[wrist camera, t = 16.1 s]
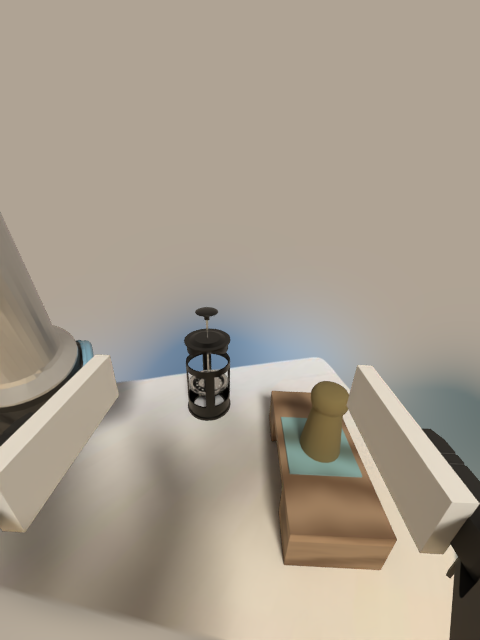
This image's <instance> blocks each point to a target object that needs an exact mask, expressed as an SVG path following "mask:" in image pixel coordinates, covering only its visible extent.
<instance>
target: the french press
mask: <svg viewBox="0 0 480 640" xmlns="http://www.w3.org/2000/svg"><path fill="white" fill-rule="evenodd" d="M195 313H196V314H197V315H199V316H203V317H204V319H205V320H206V329H200V330H196V331H193V332H191V333H189V334H188V335H187V336H186V337H185V340H184V342H185V345H186V346H187V350H188V353H189V354H190V355H189V356H188V357H187V359H186V370H187V383H188V397H189V403H188V409H189V411H190V413H191V414H192V415H193V416H194V417H195V418H197V419H200V420H206V421H208V420H215V419H218V418H220V417H222V416H224V415H225V414H226V413H227V412H228V410H229V408H230V399H229V396H230V357H229V356H228V354H227V353H226V352H227V350H228V344H229V343H230V336H229V335H228V334H227V333H225V332H223V331H221V330H217V329H208V320H209V316H213V315H216V314H217V313H218V311H217V310H216V309H214V308H210V307H204V308H200V309H198V310H196V312H195ZM202 354H203V371H200V372H199V371H195V370H193V369H191V368H190V367H189V366H188V363H189V361H190V360H191V359H193V358H194V357H196V356H199V355H202ZM211 354H217V355H220V356H223V357H224V358H226V359H227V360H228V364H227V365H226V366H225V367H224V368H222V369H220V370H218V371H216V370H211ZM227 371H228V378H227V376H226V375H225V374H224V373H226V372H227ZM188 372H189V373H190V374H191V375H193V376H192V377H191V378H190V380H189V377H188ZM227 385H228V387H227ZM189 387H190V390H189ZM216 395H220V396H222V397H223V399H224V402H223V403H221V404H219V405H217V406H215V396H216ZM199 396H204V397H206V407H201V406H198V405H196V404H194V402H195V400H196V399H197V398H198V397H199Z"/></svg>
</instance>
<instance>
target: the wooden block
mask: <svg viewBox="0 0 480 640" xmlns="http://www.w3.org/2000/svg"><path fill="white" fill-rule="evenodd" d="M311 408H312V403H311V393H306V392H282V391H272V394H271V404H270V413H269V421H270V431H271V441H277V448H278V457H279V465H280V473H281V481H282V493H281V499H280V506H279V520H280V530H281V540H282V550H283V560H284V565H296V566H314V567H333V568H352V569H371V570H381V568H382V566H383V565H384V563H385V561H386V559H387V557H388V555H389V554H390V552H391V550H392V548H393V546H394V544H395V543H396V541H397V539H396V536H395V534H394V532H393V530H392V527H391V525H390V523H389V521H388V518H387V516H386V514H385V512H384V510H383V507H382V505H381V503H380V501H379V498H378V496H377V494H376V492H375V489H374V487H373V485H372V483H371V481H370V478H369V476H368V474H367V472H366V469H365V467H364V465H363V463H362V460H361V458H360V456H359V454H358V451H357V449H356V447H355V445H354V443H353V440H352V438H351V436H350V434H349V431H348V429H347V427H346V425H345V422H344V420H343V419H342V432H341V445H340V454H339V456H338V458H337V459H336V460H335V461H333V462H330V463H321V462H318V461H315V460H313V459H312V458H310V457H309V456H307V455H306V454H305V453H304V451H303V450H302V448H301V445H300V436H301V434H302V431H303V428H304V426H305V423H306V421H307V418H308V415H309V413H310V410H311Z"/></svg>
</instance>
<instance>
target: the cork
mask: <svg viewBox="0 0 480 640" xmlns="http://www.w3.org/2000/svg"><path fill="white" fill-rule="evenodd" d="M348 398H349V394H348V392H347V390H346V389H345V388H344V387H342V386H341V385H339V384H337V383H334V382H330V381H323V382H319V383H318V384H316V385H315V386H314V387H313V389H312V391H311V403H312V408H311V410H310V413H309V415H308V418H307V421H306V423H305V426H304V428H303V431H302V434H301V436H300V445H301V448H302V450H303V451H304V453H305V454H306V455H307V456H309V457H310V458H312V459H313V460H315V461H318V462H321V463H330V462H333V461H335V460H336V459H337V458H338V456H339V454H340V445H341V432H342V419H343V415H344V414H345V413H346V412H347V411H348V407H347V401H348Z"/></svg>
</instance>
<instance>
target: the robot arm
mask: <svg viewBox="0 0 480 640" xmlns="http://www.w3.org/2000/svg"><path fill="white" fill-rule="evenodd" d="M118 396H119V393H118V389H117V384H116V380H115V376H114V371H113V367H112V362H111V358H110V355H95V356H93V349H92V345H91V343H90V342H89V341H81V340H77V341H75V340H74V338H73V336H72V335H71V334H70V333H69V332H67V331H66V330H64V329H62V328H60V327H57V326H54V325H52V323H51V321H50V319H49V316H48V314H47V312H46V310H45V308H44V306H43V303H42V301H41V299H40V297H39V295H38V293H37V290H36V288H35V286H34V284H33V282H32V280H31V277H30V275H29V273H28V271H27V269H26V267H25V264H24V262H23V260H22V258H21V256H20V254H19V251H18V249H17V247H16V245H15V243H14V241H13V239H12V236H11V234H10V232H9V230H8V228H7V225H6V223H5V221H4V219H3V217H2V215H1V212H0V528H1V529H2V531H9V532H26V530H27V529H28V527H29V526H30V524H31V523H32V521H33V520H34V519H35V517H36V516H37V514H38V513H39V511H40V510H41V508H42V507H43V505H44V504H45V503H46V501H47V500H48V498H49V497H50V495H51V494H52V492H53V491H54V489H55V488H56V487H57V485H58V484H59V482H60V481H61V479H62V478H63V476H64V475H65V473H66V472H67V470H68V469H69V468H70V466H71V465H72V463H73V462H74V460H75V459H76V457H77V456H78V454H79V453H80V452H81V450H82V449H83V447H84V446H85V444H86V443H87V441H88V440H89V438H90V437H91V436H92V434H93V433H94V431H95V430H96V428H97V427H98V425H99V424H100V422H101V421H102V419H103V418H104V417H105V415H106V414H107V412H108V411H109V409H110V408H111V406H112V405H113V403H114V402H115V401H116V399H117V398H118ZM347 407H348V409H349V411H350V413H351V415H352V418H353V420H354V422H355V424H356V426H357V428H358V430H359V432H360V434H361V436H362V438H363V440H364V442H365V444H366V446H367V448H368V450H369V452H370V454H371V456H372V458H373V460H374V462H375V464H376V466H377V468H378V470H379V472H380V474H381V476H382V478H383V480H384V482H385V484H386V486H387V488H388V490H389V492H390V494H391V496H392V498H393V500H394V502H395V504H396V506H397V508H398V510H399V512H400V514H401V516H402V518H403V520H404V522H405V524H406V526H407V528H408V530H409V532H410V534H411V536H412V538H413V540H414V542H415V544H416V546H417V548H418V550H419V552H420V553H430V554H444V553H445V551H446V550H447V548H448V547H449V546H450V544H451V545H452V547H453V549H454V550H455V552H456V554H457V555H458V558H457V559H456V561H455V562H454V563H453V564H452V566H451V567H450V568H449V570H448V572H447V574H446V576H448V577H449V578H451V577H452V576H453V575H454V586H453V600H452V613H451V626H450V640H480V481H479V480H478V479H477V478H476V476H475V475H474V474H473V473H472V472H471V471H470V469H469V468H468V467H467V466H465V465H464V462H463V461H462V460H461V459H460V458H459V456H458V455H456V454H455V452H454V450H453V449H452V448H451V447H450V446H449V445H448V443H447V442H446V441H445V440H444V439H443V438H442V437H440V436H439V435H438V434H436V433H435V432H434V431H432V430H431V429H421V428H420V427H419V425H418V424H417V423H416V422H415V420H414V419H413V418H412V416H411V415H410V414H409V413H408V411H407V410H406V409H405V407H404V406H403V405H402V404H401V402H400V401H399V400H398V398H397V397H396V396H395V395H394V393H393V392H392V391H391V390H390V388H389V387H388V386H387V384H386V383H385V382H384V380H383V379H382V378H381V377H380V375H379V374H378V373H377V372H376V370H375V369H374V368H373V366H366V365H357V369H356V372H355V376H354V379H353V383H352V387H351V390H350V394H349V398H348V401H347Z"/></svg>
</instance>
